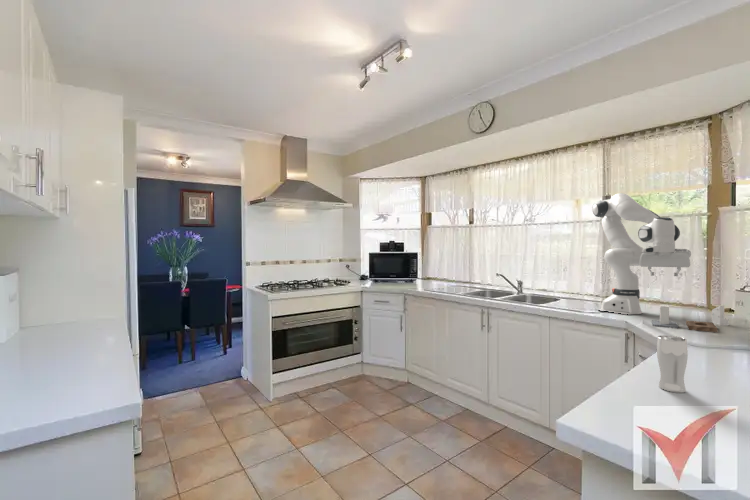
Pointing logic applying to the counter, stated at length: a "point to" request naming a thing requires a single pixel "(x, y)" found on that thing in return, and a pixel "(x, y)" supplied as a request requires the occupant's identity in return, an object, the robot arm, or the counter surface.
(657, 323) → the slate pad
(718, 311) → the white wedge bracket
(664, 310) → the plug
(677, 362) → the beer glass
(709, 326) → the header collar
